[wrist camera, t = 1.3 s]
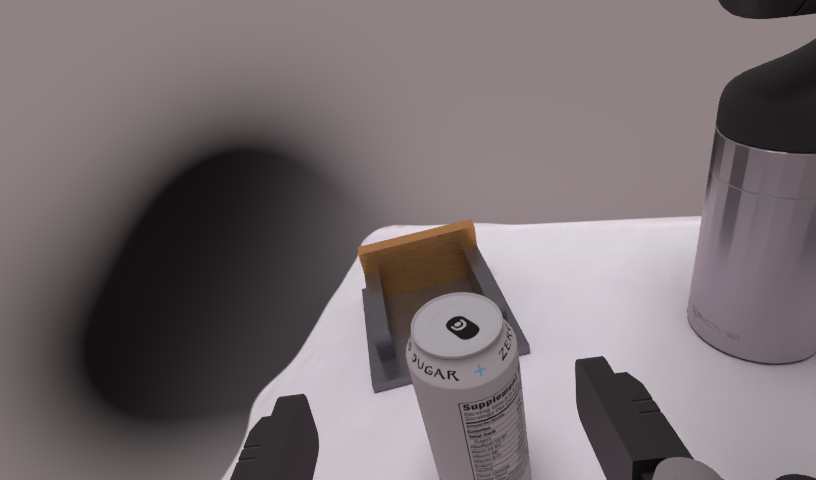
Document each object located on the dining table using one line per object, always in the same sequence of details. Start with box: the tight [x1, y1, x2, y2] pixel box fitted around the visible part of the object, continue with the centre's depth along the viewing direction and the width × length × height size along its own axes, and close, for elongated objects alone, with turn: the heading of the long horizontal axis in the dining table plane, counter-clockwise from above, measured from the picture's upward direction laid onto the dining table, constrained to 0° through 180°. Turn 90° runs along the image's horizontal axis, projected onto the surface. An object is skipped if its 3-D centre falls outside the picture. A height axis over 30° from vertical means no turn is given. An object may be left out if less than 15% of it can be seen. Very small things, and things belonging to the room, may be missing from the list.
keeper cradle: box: [358, 220, 530, 393], centre depth 45 cm, size 14×14×7 cm
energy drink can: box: [406, 292, 531, 480], centre depth 28 cm, size 6×6×15 cm
